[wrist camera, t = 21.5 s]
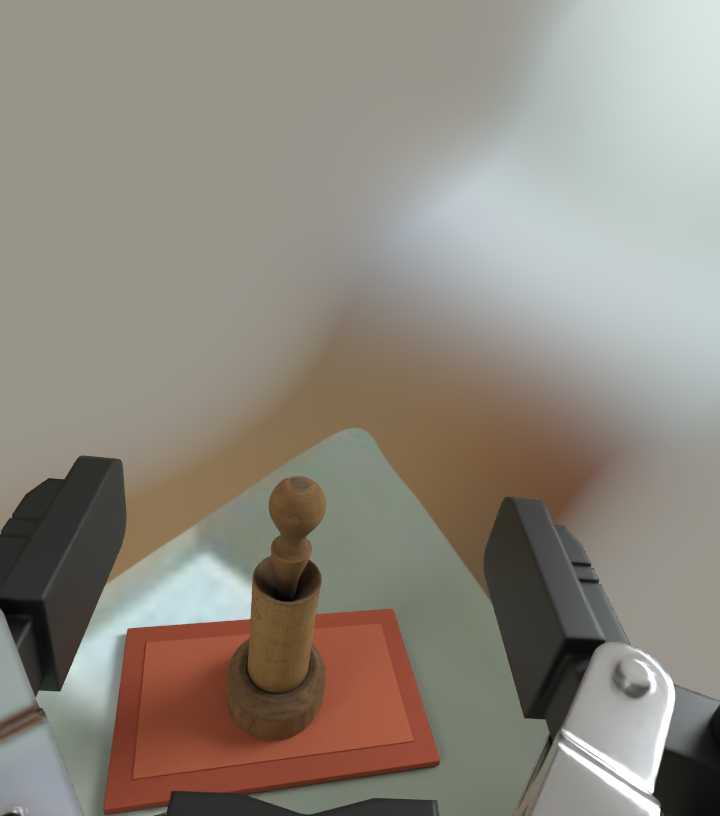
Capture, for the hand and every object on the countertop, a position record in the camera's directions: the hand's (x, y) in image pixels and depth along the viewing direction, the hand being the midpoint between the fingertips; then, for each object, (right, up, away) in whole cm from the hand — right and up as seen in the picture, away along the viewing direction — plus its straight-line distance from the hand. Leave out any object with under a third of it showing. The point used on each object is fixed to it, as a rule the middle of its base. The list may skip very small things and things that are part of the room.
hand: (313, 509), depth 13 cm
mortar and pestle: (-5, -17, +28) cm, 33 cm away
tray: (-5, -17, +28) cm, 33 cm away
